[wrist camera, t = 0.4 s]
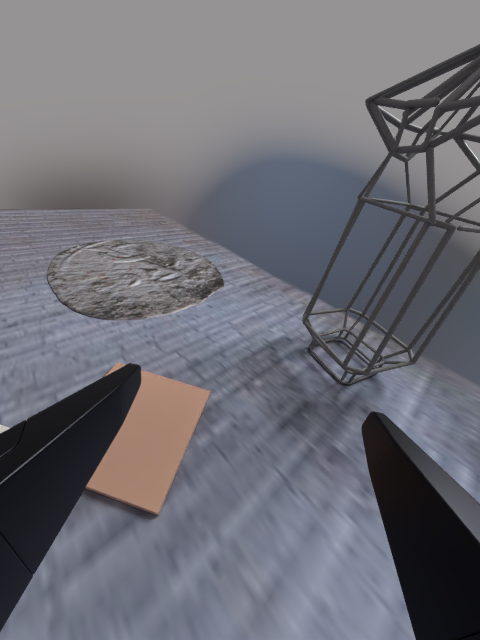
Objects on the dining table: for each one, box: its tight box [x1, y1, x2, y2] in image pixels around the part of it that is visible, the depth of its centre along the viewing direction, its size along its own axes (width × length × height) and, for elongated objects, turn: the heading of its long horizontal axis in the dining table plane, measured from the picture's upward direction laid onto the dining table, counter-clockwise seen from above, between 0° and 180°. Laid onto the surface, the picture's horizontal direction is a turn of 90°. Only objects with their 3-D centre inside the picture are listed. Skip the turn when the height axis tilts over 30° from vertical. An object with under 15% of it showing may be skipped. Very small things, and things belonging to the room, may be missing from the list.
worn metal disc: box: [47, 240, 224, 320], centre depth 51 cm, size 33×35×1 cm
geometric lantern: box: [302, 44, 480, 385], centre depth 27 cm, size 16×16×35 cm
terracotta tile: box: [85, 363, 210, 516], centre depth 24 cm, size 12×12×1 cm
